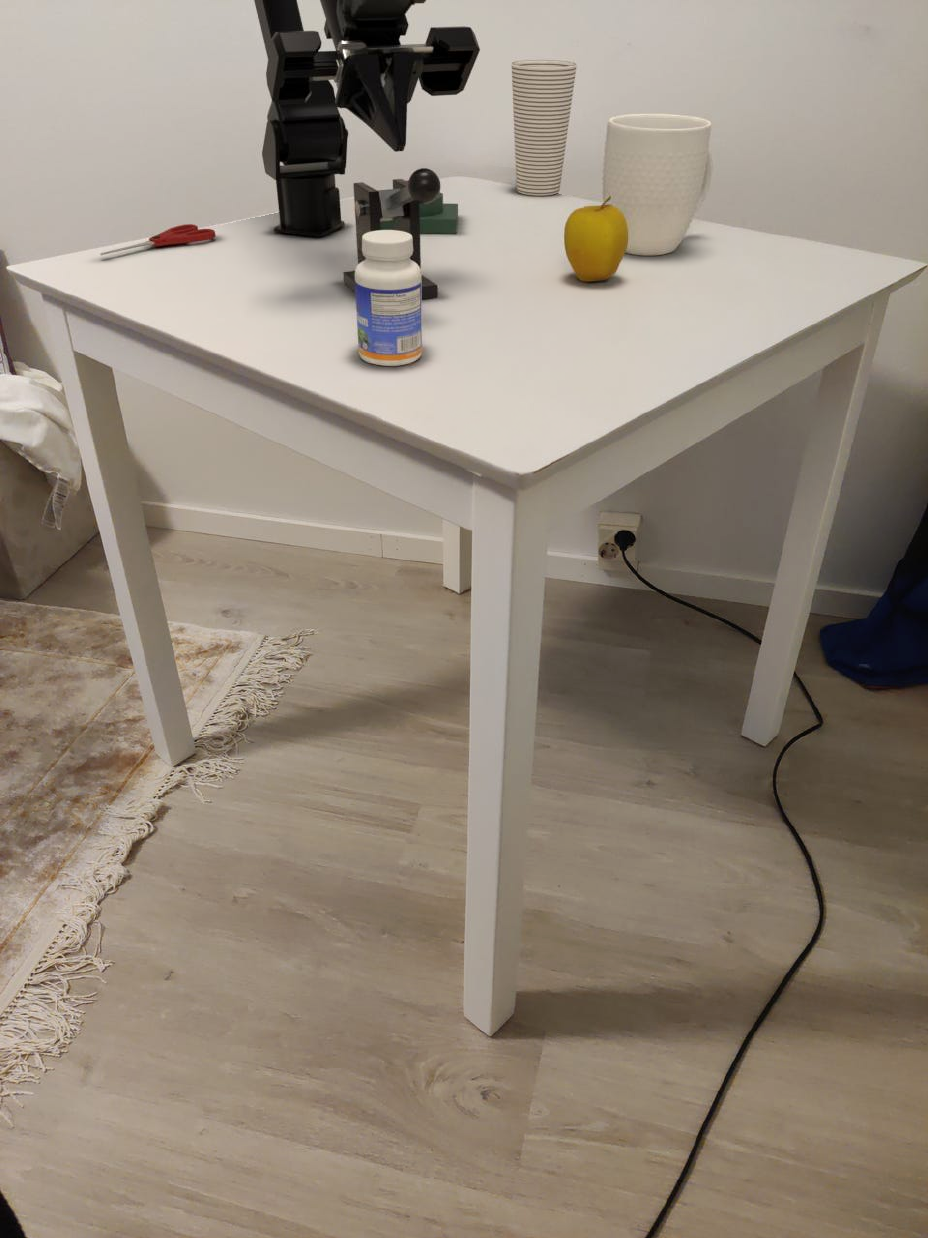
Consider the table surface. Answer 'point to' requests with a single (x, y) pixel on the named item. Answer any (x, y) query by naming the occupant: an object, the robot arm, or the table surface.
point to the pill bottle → (388, 299)
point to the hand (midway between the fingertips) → (400, 148)
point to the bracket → (370, 221)
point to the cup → (541, 122)
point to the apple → (595, 241)
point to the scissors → (174, 237)
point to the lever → (409, 194)
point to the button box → (433, 218)
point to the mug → (656, 176)
